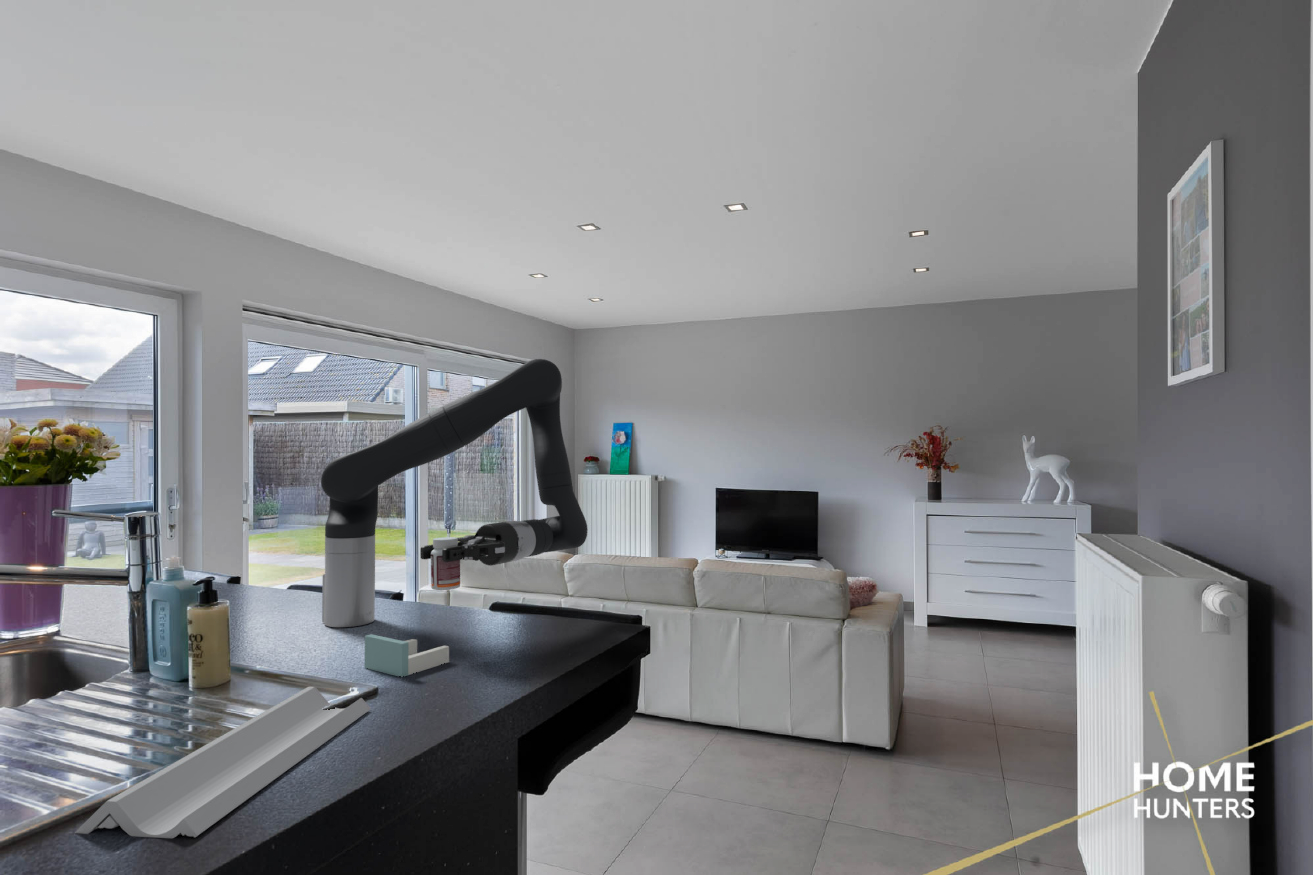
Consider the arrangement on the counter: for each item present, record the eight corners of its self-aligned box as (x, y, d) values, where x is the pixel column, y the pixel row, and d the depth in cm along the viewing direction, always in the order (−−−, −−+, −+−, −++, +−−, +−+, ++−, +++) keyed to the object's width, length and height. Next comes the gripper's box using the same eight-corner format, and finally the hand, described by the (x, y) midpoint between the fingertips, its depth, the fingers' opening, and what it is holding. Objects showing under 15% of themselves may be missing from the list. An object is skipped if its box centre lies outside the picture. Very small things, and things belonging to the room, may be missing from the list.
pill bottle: (466, 586, 122) (465, 537, 122) (446, 591, 118) (446, 540, 118) (445, 584, 124) (444, 535, 124) (424, 589, 120) (424, 539, 120)
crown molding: (195, 847, 63) (195, 805, 63) (70, 841, 64) (70, 800, 64) (369, 715, 94) (369, 687, 94) (283, 713, 95) (283, 685, 95)
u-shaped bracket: (364, 667, 113) (364, 635, 113) (412, 653, 121) (412, 623, 121) (401, 677, 108) (401, 643, 108) (449, 661, 116) (449, 630, 116)
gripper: (477, 520, 137) (404, 529, 123) (534, 523, 130) (462, 534, 115) (478, 559, 137) (404, 573, 123) (534, 565, 130) (463, 580, 115)
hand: (433, 554), depth 119 cm, fingers closed on pill bottle, 4 cm apart
